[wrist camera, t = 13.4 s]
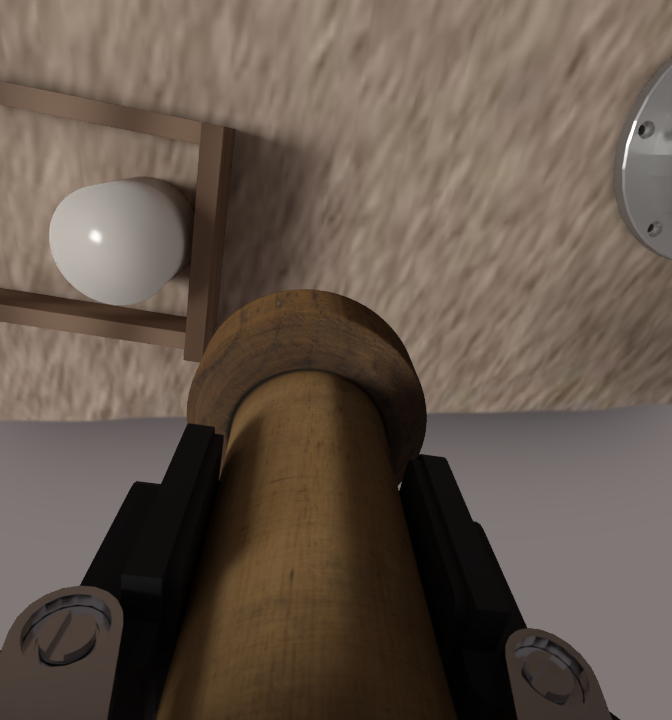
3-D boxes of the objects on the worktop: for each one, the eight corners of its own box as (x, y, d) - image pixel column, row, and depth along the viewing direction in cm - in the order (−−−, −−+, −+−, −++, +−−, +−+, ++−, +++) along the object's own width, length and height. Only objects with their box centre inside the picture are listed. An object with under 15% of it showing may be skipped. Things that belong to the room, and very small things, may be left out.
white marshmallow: (202, 187, 28) (176, 197, 22) (194, 282, 30) (169, 314, 24) (100, 167, 27) (47, 173, 22) (99, 266, 29) (51, 294, 24)
